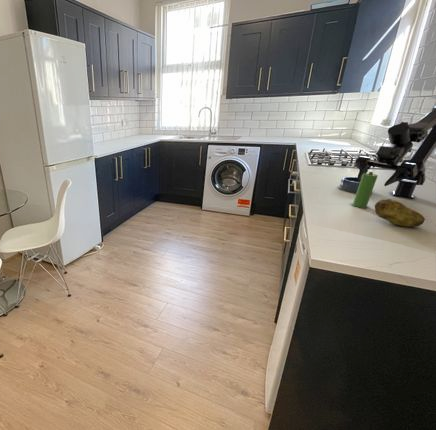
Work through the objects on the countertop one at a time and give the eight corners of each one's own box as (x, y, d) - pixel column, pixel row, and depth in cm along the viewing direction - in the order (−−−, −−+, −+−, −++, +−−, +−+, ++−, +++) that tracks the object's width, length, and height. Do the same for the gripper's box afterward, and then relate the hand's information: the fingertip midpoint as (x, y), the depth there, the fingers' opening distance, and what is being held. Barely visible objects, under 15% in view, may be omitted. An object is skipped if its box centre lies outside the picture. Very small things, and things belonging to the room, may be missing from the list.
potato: (418, 232, 90) (428, 209, 87) (367, 220, 100) (375, 199, 97) (422, 226, 95) (432, 204, 92) (373, 215, 104) (381, 194, 101)
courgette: (352, 203, 117) (364, 170, 111) (366, 205, 114) (378, 172, 109) (352, 206, 114) (363, 172, 108) (366, 208, 111) (378, 174, 106)
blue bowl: (340, 185, 142) (343, 175, 140) (370, 189, 135) (373, 179, 133) (337, 190, 134) (341, 180, 132) (369, 195, 127) (373, 184, 125)
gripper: (365, 136, 115) (340, 165, 115) (426, 141, 99) (398, 174, 99) (369, 154, 121) (346, 181, 121) (428, 162, 105) (401, 193, 105)
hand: (370, 182), depth 111 cm, fingers open, 9 cm apart
